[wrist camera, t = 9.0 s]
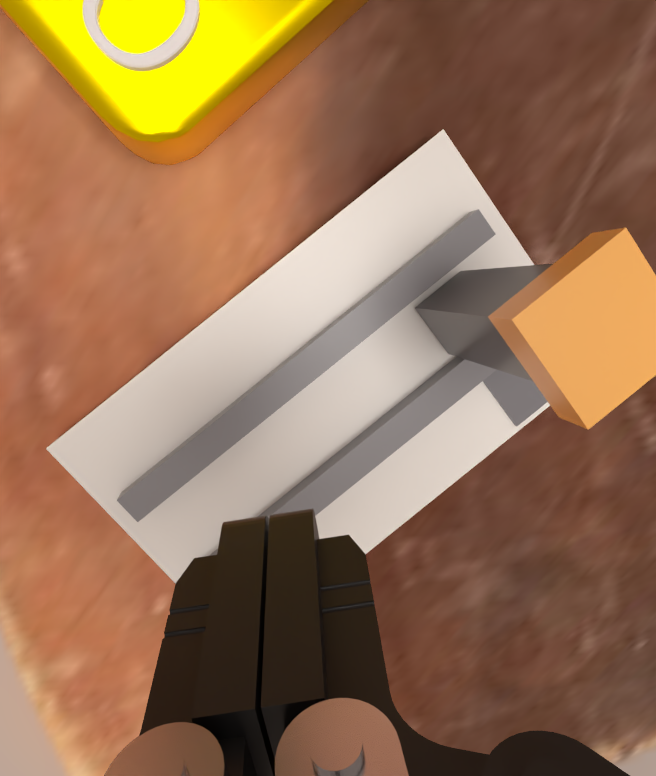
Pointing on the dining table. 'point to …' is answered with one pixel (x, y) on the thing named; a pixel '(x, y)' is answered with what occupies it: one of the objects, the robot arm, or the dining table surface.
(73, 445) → the switch panel
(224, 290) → the dining table surface
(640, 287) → the lever
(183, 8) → the element tile
